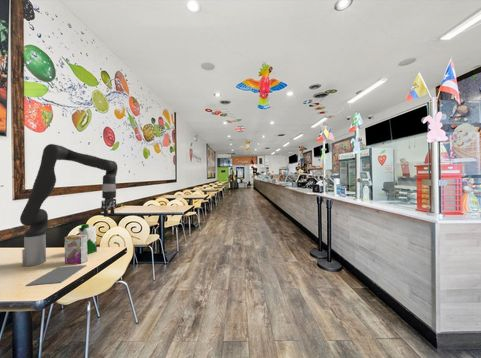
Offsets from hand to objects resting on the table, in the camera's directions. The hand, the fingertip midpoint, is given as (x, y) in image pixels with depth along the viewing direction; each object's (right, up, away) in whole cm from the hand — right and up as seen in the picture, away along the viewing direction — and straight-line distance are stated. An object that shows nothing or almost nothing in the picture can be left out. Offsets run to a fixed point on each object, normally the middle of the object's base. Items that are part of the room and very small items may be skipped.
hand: (109, 215), depth 128 cm
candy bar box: (-16, -28, -7) cm, 33 cm away
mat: (-11, -27, -23) cm, 38 cm away
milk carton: (-22, -28, +11) cm, 37 cm away
